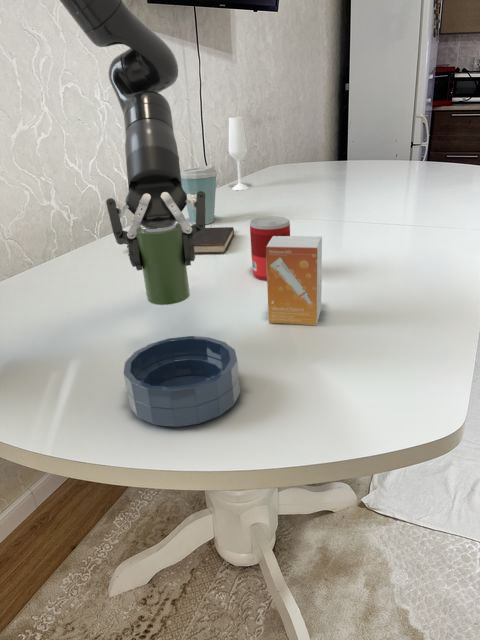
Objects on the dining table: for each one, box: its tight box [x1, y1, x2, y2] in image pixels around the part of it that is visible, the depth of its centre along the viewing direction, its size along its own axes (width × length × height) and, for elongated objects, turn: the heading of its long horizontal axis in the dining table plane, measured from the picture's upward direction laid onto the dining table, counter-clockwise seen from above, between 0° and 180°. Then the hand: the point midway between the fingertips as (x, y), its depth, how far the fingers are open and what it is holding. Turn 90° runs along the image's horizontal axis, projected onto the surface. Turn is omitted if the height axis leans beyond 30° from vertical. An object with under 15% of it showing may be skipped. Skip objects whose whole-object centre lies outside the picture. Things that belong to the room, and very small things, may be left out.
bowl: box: [123, 335, 241, 428], centre depth 65 cm, size 14×14×6 cm
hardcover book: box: [126, 226, 235, 257], centre depth 129 cm, size 16×23×2 cm
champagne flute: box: [228, 116, 250, 191], centre depth 187 cm, size 7×7×24 cm
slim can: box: [136, 219, 191, 306], centre depth 72 cm, size 6×6×10 cm
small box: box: [266, 235, 323, 326], centre depth 84 cm, size 8×6×13 cm
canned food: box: [249, 216, 291, 282], centre depth 104 cm, size 8×8×11 cm
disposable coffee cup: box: [180, 165, 218, 225], centre depth 146 cm, size 11×11×15 cm
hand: (163, 265), depth 71 cm, fingers closed on slim can, 6 cm apart
